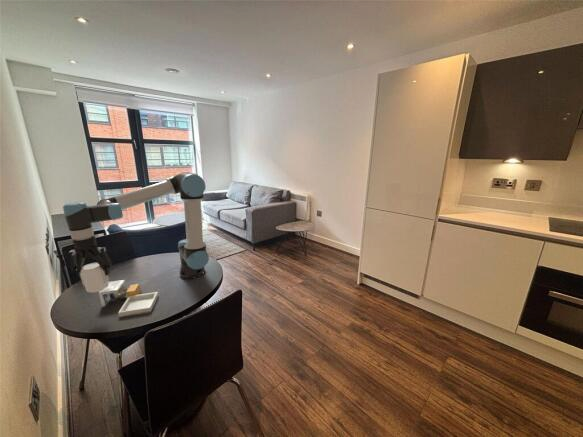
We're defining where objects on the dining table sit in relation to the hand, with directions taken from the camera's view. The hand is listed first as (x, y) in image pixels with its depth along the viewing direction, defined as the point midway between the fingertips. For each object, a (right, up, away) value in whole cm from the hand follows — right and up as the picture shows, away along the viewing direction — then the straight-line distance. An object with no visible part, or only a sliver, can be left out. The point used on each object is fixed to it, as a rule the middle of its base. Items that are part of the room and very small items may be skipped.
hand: (96, 282), depth 109 cm
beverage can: (0, -3, +1) cm, 3 cm away
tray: (+14, -15, +10) cm, 23 cm away
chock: (+5, -12, +19) cm, 23 cm away
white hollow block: (-2, -13, +15) cm, 20 cm away
